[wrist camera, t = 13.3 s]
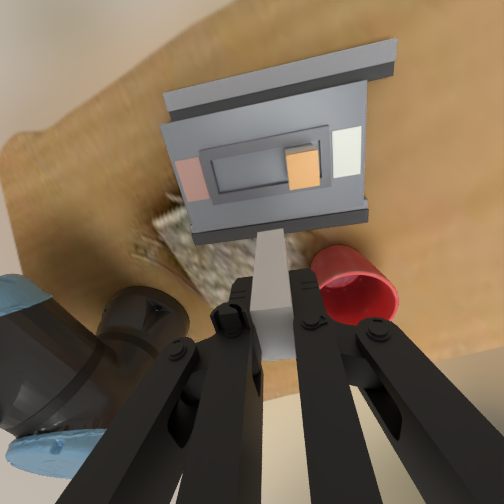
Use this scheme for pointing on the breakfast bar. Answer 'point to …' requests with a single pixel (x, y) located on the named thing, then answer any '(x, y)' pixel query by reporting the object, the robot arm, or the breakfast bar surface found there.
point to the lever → (302, 166)
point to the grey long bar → (284, 80)
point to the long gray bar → (283, 225)
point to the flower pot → (353, 286)
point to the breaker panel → (270, 157)
